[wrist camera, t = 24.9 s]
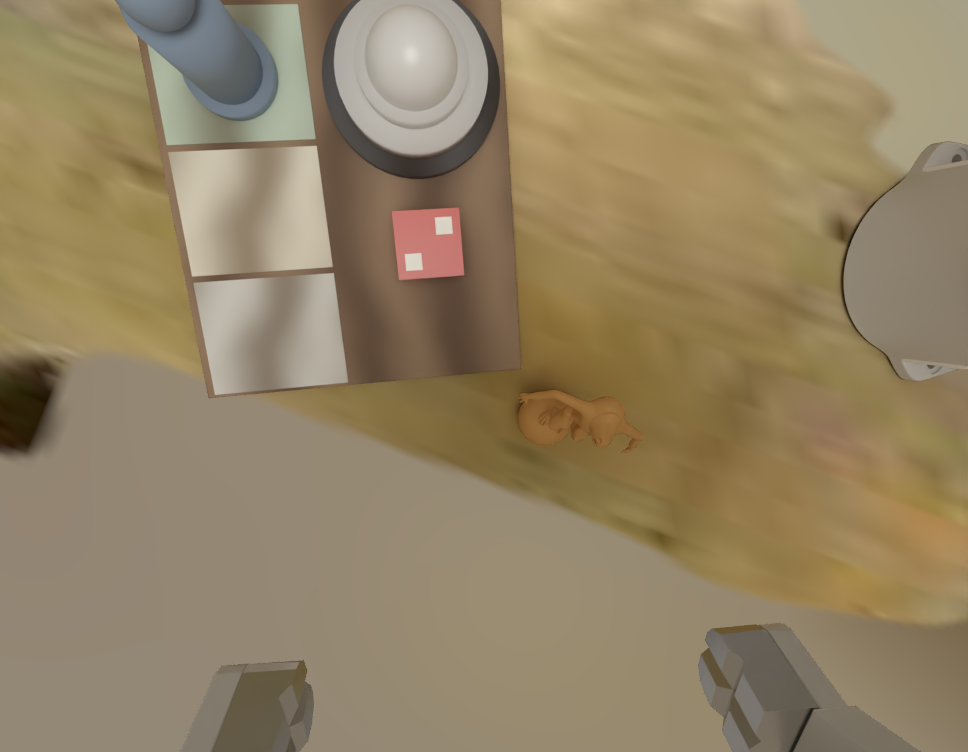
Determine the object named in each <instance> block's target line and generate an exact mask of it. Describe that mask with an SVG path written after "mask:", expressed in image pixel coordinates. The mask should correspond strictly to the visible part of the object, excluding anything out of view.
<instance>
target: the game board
mask: <svg viewBox="0 0 968 752" xmlns="http://www.w3.org/2000/svg"><path fill="white" fill-rule="evenodd" d="M220 1H221V2H222V4H223V5H224V6H225V8H226V9H227V11H228V12H229V13H230V15H231V16H232V18H233V19H234V20H235V21H236V22H239V23H241V24H243V25H245V26H246V27H248V28H249V29H251V30H252V31H253V32H254V33H255V34H256V35H257V36H258V37H259V38H260V39H261V41H262V42H263V43H264V45H265V46H266V48H267V49H268V51H269V52H270V54H271V56H272V57H273V60H274V62H275V65H276V68H277V73H278V89H277V94H276V97H275V99H274V101H273V103H272V104H271V106H270V107H269V108H268V109H267V111H266V112H264V113H263V114H262V115H260V116H258V117H257V118H254V119H251V120H247V121H233V120H228V119H225V118H222V117H220V116H218V115H216V114H215V113H213V112H212V111H210V110H209V109H208V108H207V107H205V106H204V105H203V104H201V103H200V102H199V101H198V100H197V99H196V98H195V97H194V96H193V94H192V93H191V92H190V90H189V89H188V87H187V85H186V83H185V81H184V78H183V75H182V73H181V72H179V71H178V70H177V69H176V68H175V67H174V66H172V65H171V64H170V63H169V62H168V61H167V60H165V59H164V58H163V57H162V56H161V55H160V54H158V53H157V52H156V51H155V50H154V49H153V48H151V47H150V46H149V45H148V44H147V43H146V42H144V41H143V40H142V39H141V38H140V37H139V36H138V35H137V36H138V41H139V46H140V51H141V57H142V62H143V67H144V72H145V77H146V82H147V87H148V92H149V97H150V102H151V107H152V113H153V118H154V123H155V128H156V133H157V138H158V143H159V148H160V153H161V158H162V164H163V169H164V174H165V179H166V184H167V189H168V194H169V199H170V204H171V209H172V215H173V220H174V225H175V230H176V235H177V240H178V245H179V250H180V255H181V260H182V266H183V271H184V276H185V281H186V286H187V291H188V296H189V301H190V306H191V311H192V316H193V322H194V327H195V332H196V337H197V342H198V347H199V352H200V357H201V362H202V367H203V373H204V378H205V383H206V388H207V393H208V398H216V397H226V396H237V395H247V394H258V393H269V392H279V391H290V390H300V389H311V388H322V387H332V386H343V385H353V384H364V383H374V382H385V381H396V380H406V379H417V378H427V377H438V376H449V375H459V374H470V373H480V372H491V371H502V370H512V369H521V355H520V337H519V320H518V302H517V284H516V267H515V249H514V231H513V214H512V196H511V178H510V161H509V143H508V125H507V108H506V90H505V72H504V55H503V37H502V19H501V2H500V0H452V1H454V2H455V3H456V4H457V5H458V6H459V7H460V8H461V9H462V10H463V11H464V12H465V13H466V15H467V16H468V17H469V18H470V20H471V21H472V23H473V24H474V26H475V28H476V30H477V32H478V34H479V36H480V38H481V41H482V43H483V46H484V49H485V54H486V58H487V66H488V83H487V91H486V95H485V99H484V103H483V106H482V109H481V111H480V114H479V117H478V119H477V121H476V123H475V125H474V127H473V128H472V130H471V131H470V132H469V134H468V135H467V136H466V137H465V138H464V139H463V140H462V141H461V142H460V143H459V144H458V145H456V146H455V147H454V148H452V149H450V150H449V151H447V152H445V153H443V154H440V155H438V156H434V157H430V158H422V159H411V158H405V157H400V156H397V155H393V154H391V153H389V152H386V151H384V150H382V149H381V148H379V147H378V146H376V145H375V144H373V143H372V142H371V141H370V140H368V139H367V138H366V137H365V136H364V135H363V134H362V133H361V132H360V130H359V129H358V128H357V127H356V125H355V124H354V122H353V121H352V119H351V117H350V116H349V114H348V112H347V110H346V107H345V105H344V103H343V101H342V99H341V96H340V94H339V90H338V87H337V84H336V78H335V73H334V50H335V45H336V40H337V37H338V34H339V30H340V28H341V26H342V24H343V22H344V20H345V18H346V17H347V15H348V14H349V12H350V11H351V9H352V8H353V7H354V6H355V5H356V4H357V3H358V2H359V1H360V0H220ZM441 208H459V214H460V227H461V240H462V253H463V265H464V275H463V276H453V277H439V278H426V279H412V280H399V275H398V266H397V256H396V247H395V238H394V228H393V219H392V211H406V210H424V209H441Z"/></svg>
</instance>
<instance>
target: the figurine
mask: <svg viewBox="0 0 968 752" xmlns="http://www.w3.org/2000/svg"><path fill="white" fill-rule="evenodd" d="M519 395H521V397H519V398H518V399H522V400H521V401H520V403H521V402H523V401H524V402H523V403H522V405H521V407H520V409H519V413H518V424H519V427H520V430H521V432H522V433H523V435H524V436H525V437H526V438H527V439H528V440H530V441H531V442H533V443H535V444H538V445H552V444H555V443H557V442H559V441H560V440H562V439H563V438H564V437H565V436H566V434H567V433H568V431H569V429H570V426H571V433H572V438H573V440H574V441H575V442H579V441H581V439H582V438H584V437H586V436H587V435H591V436H592V442H593V444H594V445H595V446H596V447H601V448H603V447H606V446H607V445H608V444H609V443H610V442H611V440H612V438H613V436H614V435H616V434H625V435H627V436H629V437H631V438H632V440H631V441H630V443H629V448H626V450H623V451H622V452H620V453H625V452H629V451H632V450H633V449H634V448H636V446H637V444H638V442H640V441H641V440H642V439H643V434H642V433H641V432H640V431H638V430H637V429H636V428H634V427H632V426H631V425H630V424H629V423H628V422H627V421H626V419H625V409H624V407H623V405H622V404H621V403H620V402H619V401H618V400H616V399H614V398H611V397H601V398H598V399H595V400H593V401H591V402H589V401H584V400H580V399H578V398H576V397H574V396H571V395H569V394H567V393H564V392H561V391H558V390H549V391H541V392H534V393H520V394H519Z"/></svg>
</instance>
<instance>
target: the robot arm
mask: <svg viewBox="0 0 968 752" xmlns="http://www.w3.org/2000/svg"><path fill="white" fill-rule="evenodd" d="M844 295H845V301H846V305H847V309H848V312H849V315H850V317H851V319H852V321H853V323H854V325H855V326H856V328H857V329H858V331H859V332H860V333H861V334H862V336H863V337H864V338H865V339H866V340H867V341H869V342H870V343H871V344H873V345H874V346H876V347H877V348H878V349H880V350H881V351H883V352H884V353H885V354H886V355H887V356H888V357H889V359H890V361H891V363H892V365H893V367H894V369H895V371H896V372H897V374H898V375H899V376H900V377H901V378H902V379H904V380H911V381H923V380H926V379H929V378H932V377H935V376H938V375H942V374H945V373H948V372H951V371H954V370H957V369H967V370H968V145H965V144H961V143H955V142H941V143H935V144H931V145H930V146H928V147H927V148H926V149H925V150H924V151H923V152H922V153H921V155H920V156H919V157H918V159H917V161H916V162H915V164H914V165H913V167H912V168H911V170H910V172H909V173H908V175H907V176H906V177H905V178H904V179H903V180H902V181H901V182H900V183H899V184H898V185H896V186H895V187H894V188H892V189H891V190H890V191H889V192H887V193H886V194H885V195H884V196H883V197H881V198H880V199H879V200H878V201H877V202H876V203H875V205H874V206H873V207H872V208H871V209H870V210H869V212H868V213H867V214H866V216H865V217H864V219H863V220H862V222H861V223H860V225H859V227H858V229H857V231H856V233H855V235H854V237H853V239H852V242H851V244H850V247H849V250H848V254H847V258H846V263H845V269H844ZM705 641H706V643H707V645H708V647H709V648H708V649H707V650H706V651H704V652H703V653H702V654H701V656H700V661H699V665H698V667H699V676H700V681H701V684H702V687H703V690H704V693H705V695H706V698H707V700H708V702H709V704H710V706H711V707H712V708H714V709H715V710H716V711H717V712H718V713H719V714H721V715H722V716H723V717H724V719H723V728H722V731H723V733H724V735H725V737H726V739H727V741H728V743H729V746H730V748H731V750H732V751H733V752H920V751H919V750H918V749H916V748H915V747H913V746H912V745H910V744H909V743H908V742H906V741H905V740H903V739H902V738H901V737H899V736H898V735H896V734H895V733H893V732H892V731H890V730H889V729H888V728H886V727H885V726H883V725H882V724H881V723H879V722H878V721H876V720H875V719H874V718H872V717H871V716H869V715H868V714H866V713H865V712H863V711H862V710H861V709H859V708H858V707H856V706H848V705H847V704H846V703H845V701H844V700H843V699H842V697H841V696H840V695H839V693H838V692H837V691H836V689H835V688H834V687H833V685H832V684H831V682H830V681H829V680H828V678H827V677H826V676H825V674H824V673H823V672H822V670H821V669H820V668H819V666H818V665H817V664H816V662H815V661H814V659H813V658H812V657H811V655H810V654H809V652H808V651H807V650H806V648H805V647H804V646H803V644H802V643H801V642H800V640H799V639H798V638H797V636H796V635H795V634H794V632H793V631H792V629H791V628H789V627H788V626H787V625H785V624H782V623H774V624H764V625H744V626H735V627H724V628H714V629H711V630H709V631H708V632H707V635H706V638H705ZM306 674H307V668H306V665H305V662H304V660H303V661H288V662H272V663H257V664H238V665H226V666H221V667H220V668H219V670H218V671H217V672H216V674H215V675H214V676H213V678H212V681H211V683H210V686H209V688H208V690H207V692H206V694H205V696H204V699H203V701H202V703H201V705H200V708H199V710H198V712H197V715H196V717H195V719H194V721H193V724H192V726H191V728H190V730H189V733H188V735H187V737H186V739H185V742H184V744H183V746H182V749H181V751H180V752H299V751H300V750H301V749H302V748H303V747H304V745H305V744H306V743H307V742H308V739H309V735H310V730H311V725H312V717H313V708H314V702H313V701H314V700H313V691H312V687H311V685H310V684H308V683H307V682H305V678H306Z"/></svg>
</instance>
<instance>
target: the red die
mask: <svg viewBox="0 0 968 752" xmlns="http://www.w3.org/2000/svg"><path fill="white" fill-rule="evenodd" d="M392 219H393V228H394V238H395V247H396V256H397V266H398V275H399V280H412V279H426V278H439V277H453V276H463V275H464V265H463V253H462V240H461V227H460V214H459V208H441V209H424V210H406V211H392Z"/></svg>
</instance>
